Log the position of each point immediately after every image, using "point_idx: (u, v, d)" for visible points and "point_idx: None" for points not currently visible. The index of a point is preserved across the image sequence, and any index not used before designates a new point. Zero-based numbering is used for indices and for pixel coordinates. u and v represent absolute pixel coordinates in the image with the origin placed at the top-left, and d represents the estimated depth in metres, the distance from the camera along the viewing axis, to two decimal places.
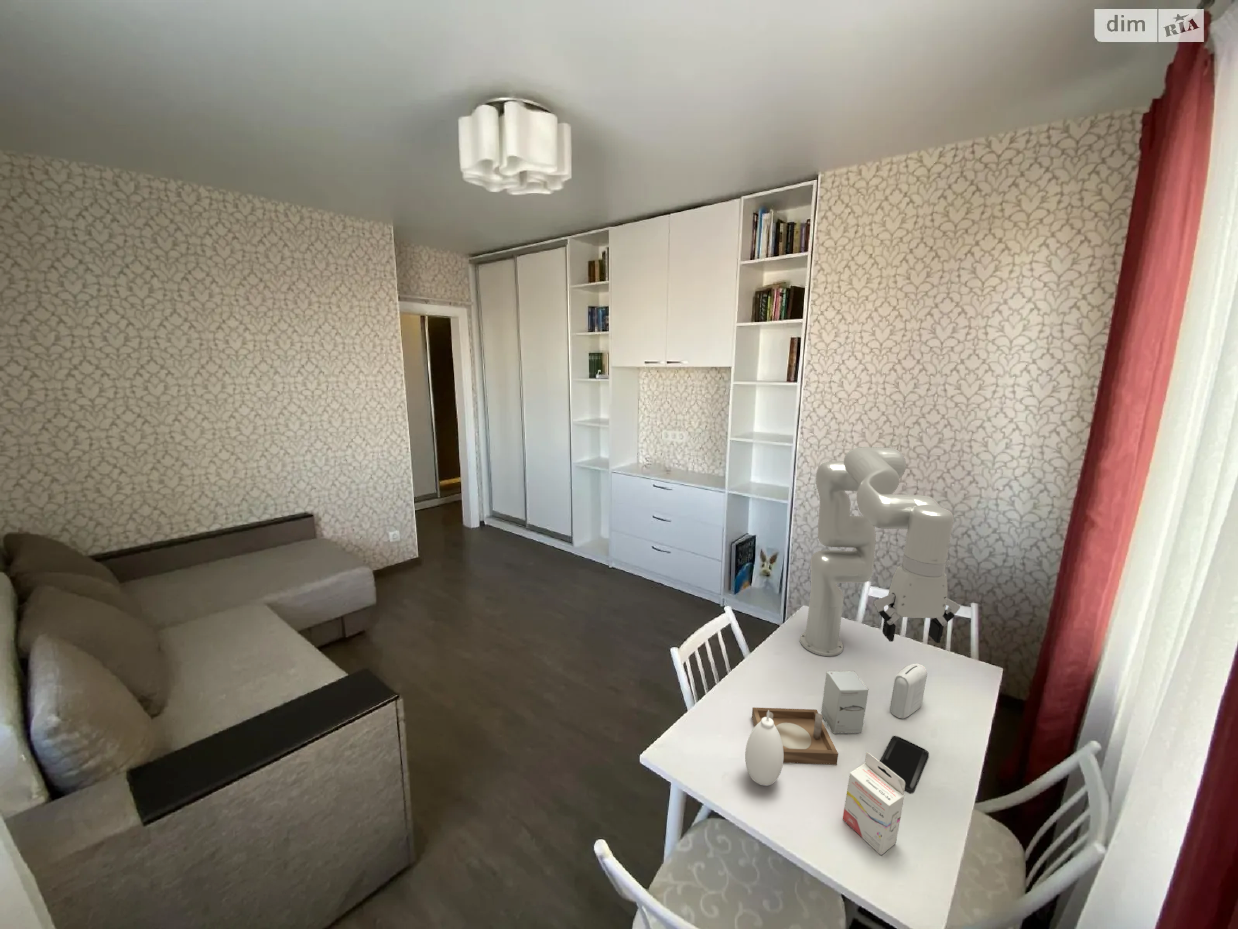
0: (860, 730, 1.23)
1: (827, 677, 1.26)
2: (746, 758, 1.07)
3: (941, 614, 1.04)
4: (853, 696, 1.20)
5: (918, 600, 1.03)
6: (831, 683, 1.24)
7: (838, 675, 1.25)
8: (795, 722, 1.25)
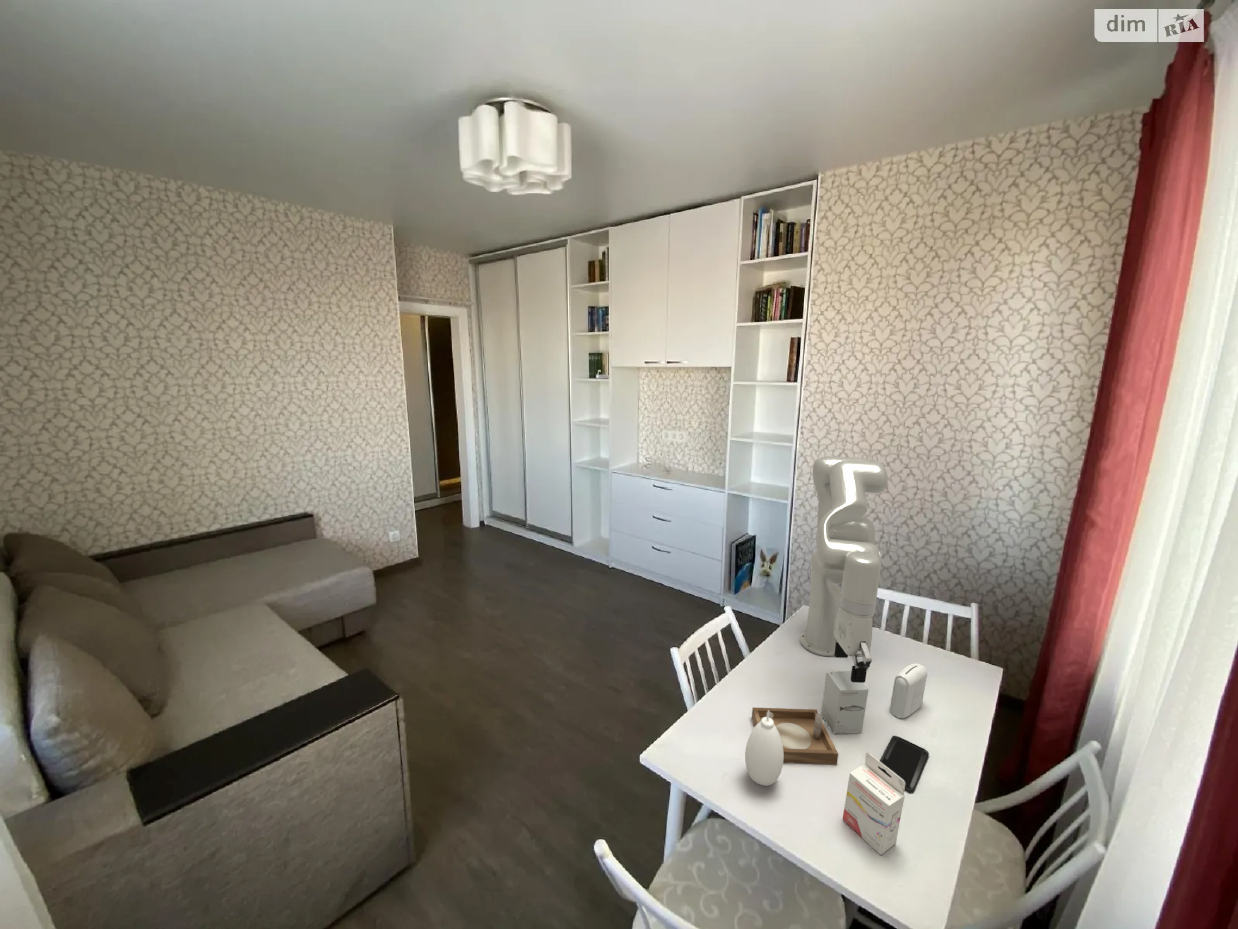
0: (860, 730, 1.23)
1: (827, 677, 1.26)
2: (746, 758, 1.07)
3: None
4: (853, 696, 1.20)
5: None
6: (831, 683, 1.24)
7: (838, 675, 1.25)
8: (795, 722, 1.25)
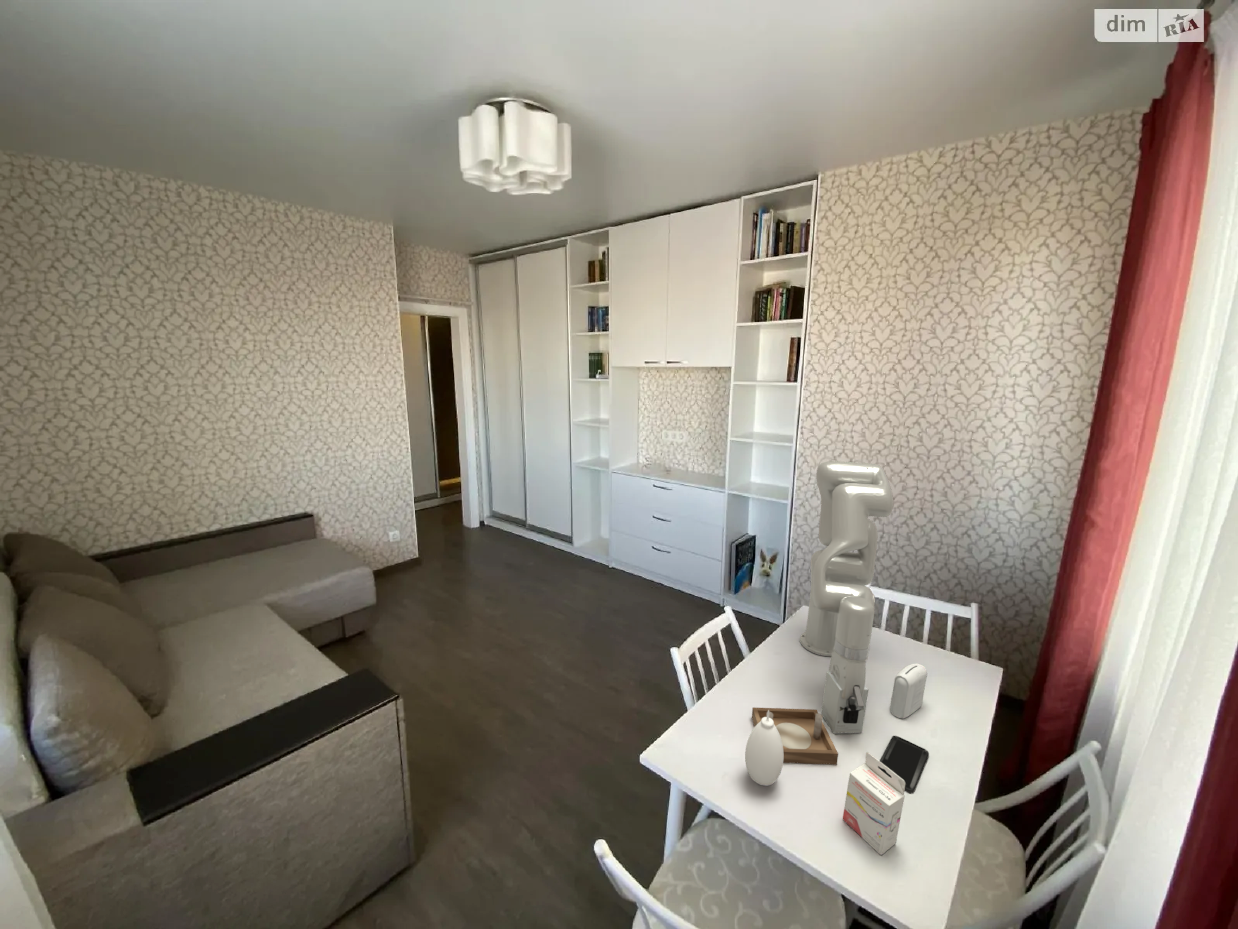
0: (860, 730, 1.23)
1: (827, 677, 1.26)
2: (746, 758, 1.07)
3: None
4: None
5: None
6: (831, 683, 1.24)
7: None
8: (795, 722, 1.25)
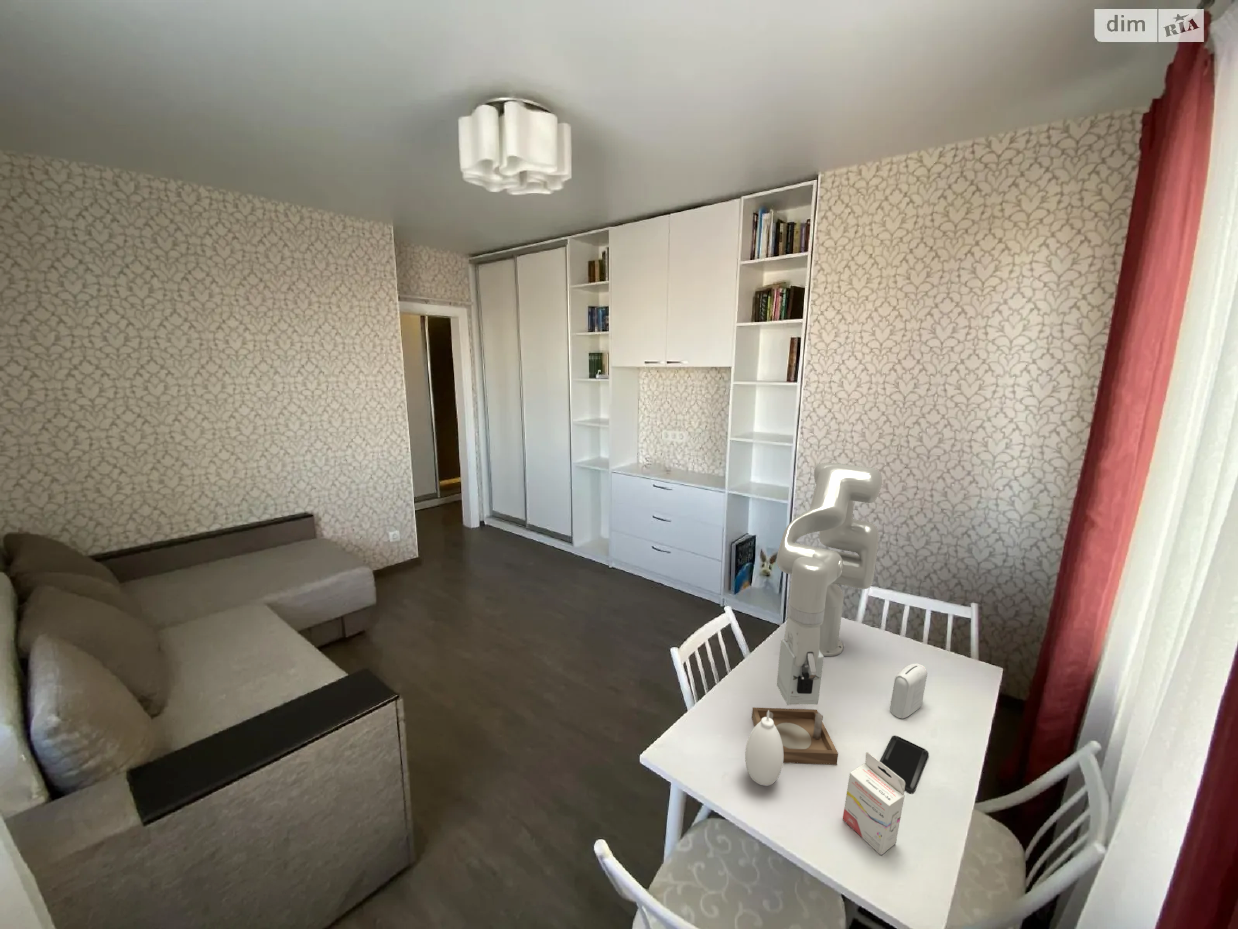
0: (815, 701, 1.14)
1: (782, 645, 1.18)
2: (746, 758, 1.07)
3: None
4: None
5: None
6: (785, 651, 1.15)
7: None
8: (795, 722, 1.25)
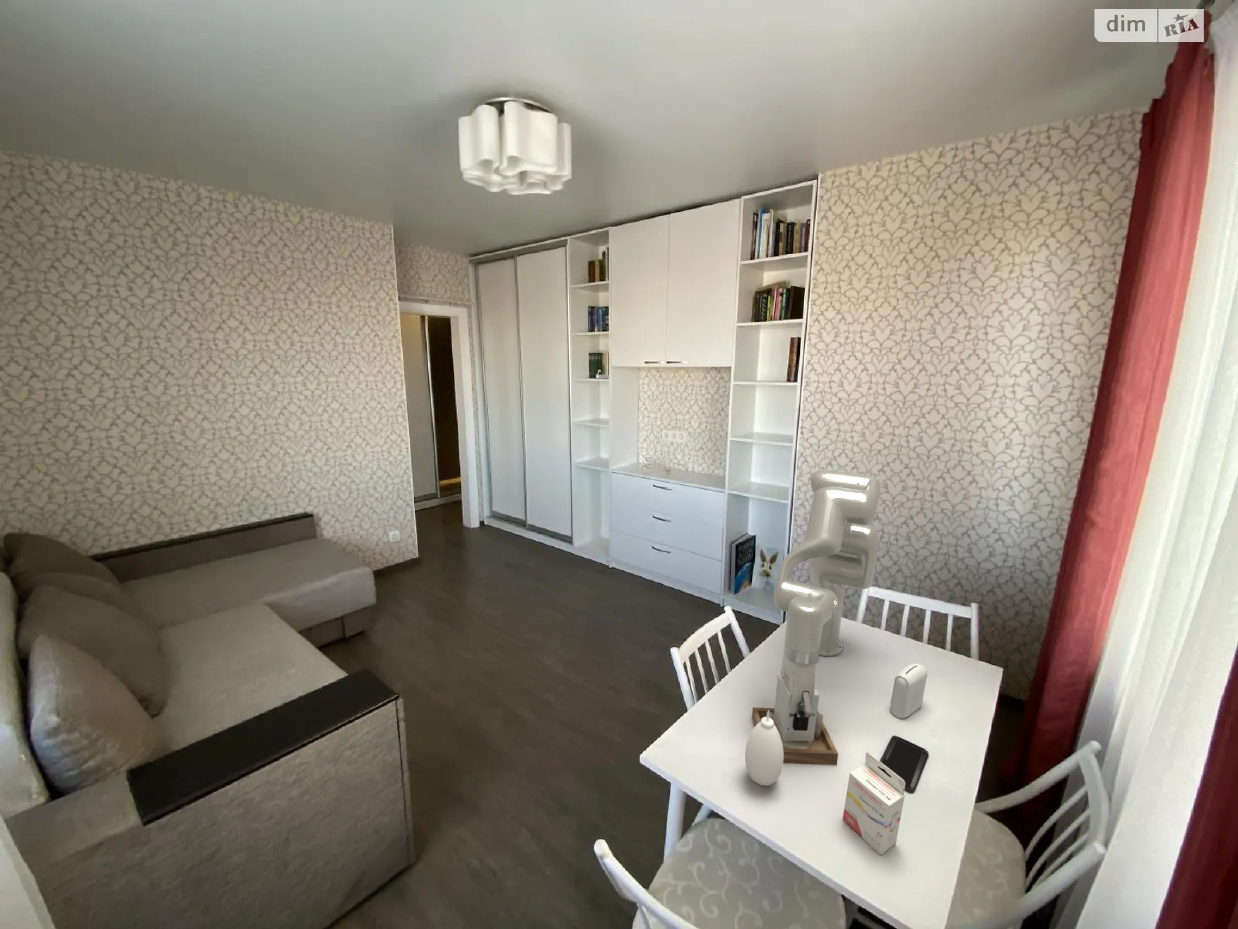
0: (811, 737, 1.17)
1: (778, 682, 1.20)
2: (746, 758, 1.07)
3: None
4: None
5: None
6: (781, 688, 1.18)
7: None
8: None
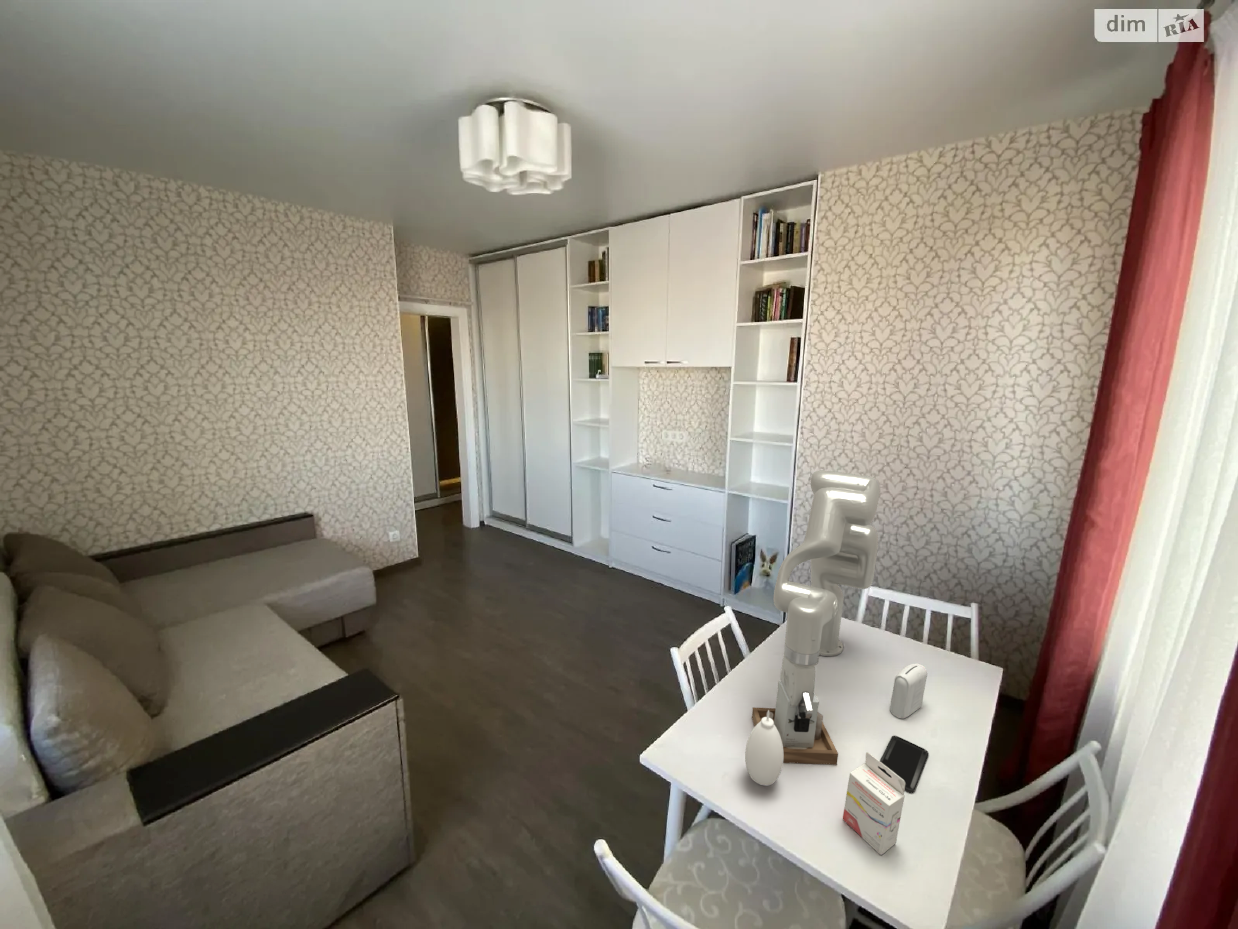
0: (811, 744, 1.17)
1: (778, 687, 1.20)
2: (746, 758, 1.07)
3: None
4: (802, 708, 1.14)
5: None
6: (781, 694, 1.18)
7: None
8: None
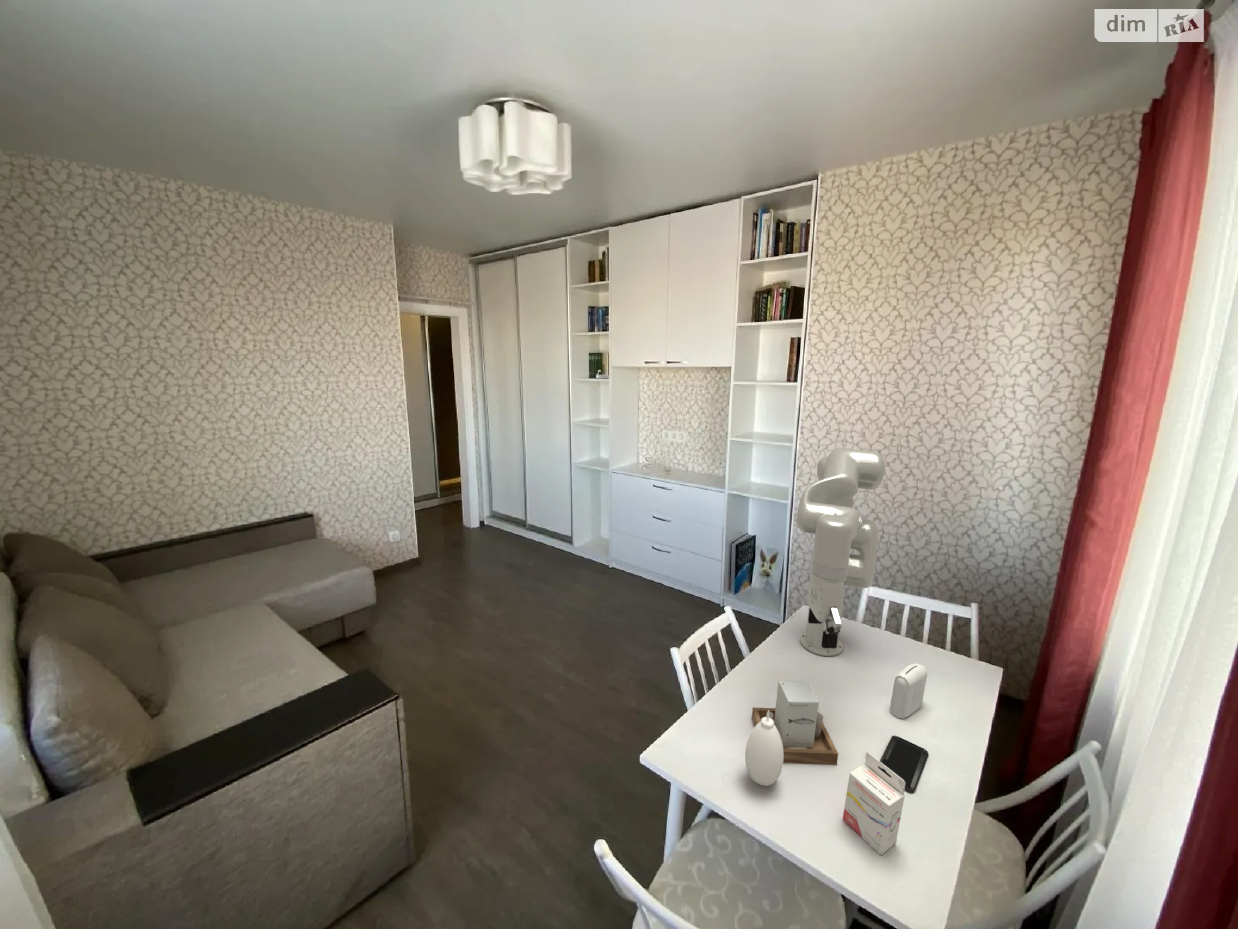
0: (811, 744, 1.17)
1: (778, 687, 1.20)
2: (746, 758, 1.07)
3: None
4: (802, 708, 1.14)
5: None
6: (781, 694, 1.18)
7: (789, 685, 1.19)
8: None
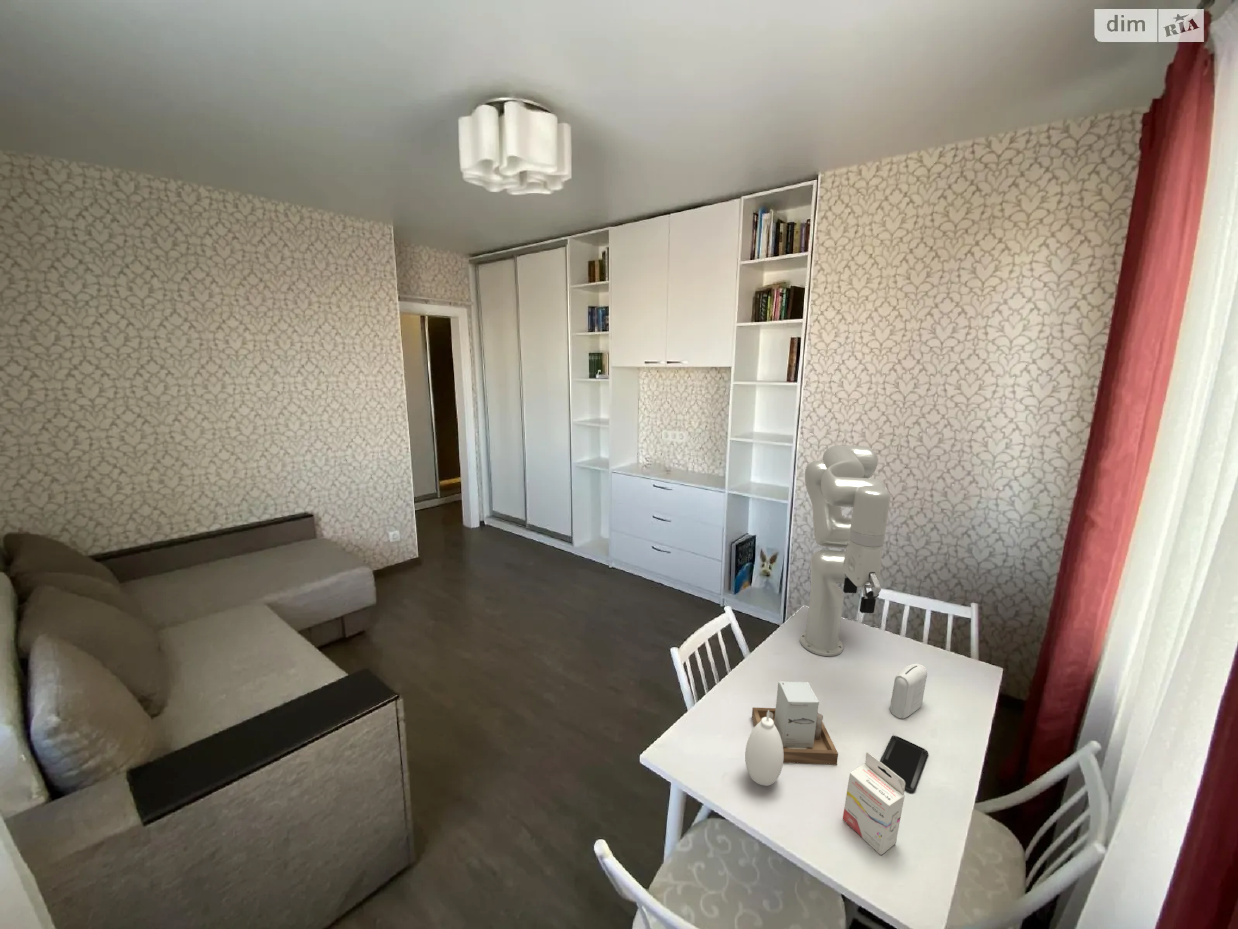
0: (811, 744, 1.17)
1: (778, 687, 1.20)
2: (746, 758, 1.07)
3: None
4: (802, 708, 1.14)
5: None
6: (781, 694, 1.18)
7: (789, 685, 1.19)
8: None
